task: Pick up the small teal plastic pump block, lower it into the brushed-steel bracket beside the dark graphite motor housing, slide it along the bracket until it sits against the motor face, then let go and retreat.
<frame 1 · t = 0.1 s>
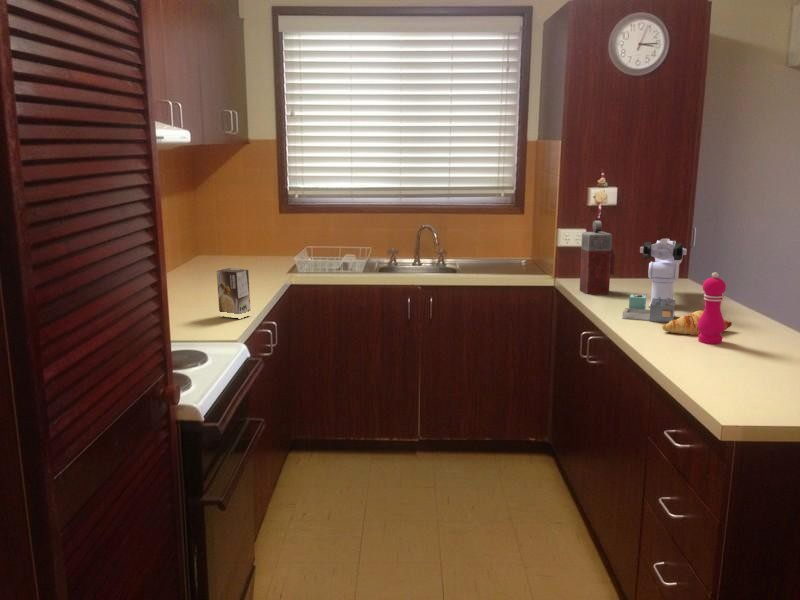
hand: (661, 252, 229), 22 cm above the worktop, tool horizontal, fingers open, 7 cm apart
pepper mill: (709, 342, 202), on the worktop
croissant: (695, 332, 214), on the worktop
motor: (662, 318, 231), on the worktop
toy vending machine: (596, 292, 278), on the worktop
pump: (637, 312, 242), on the worktop
coffee box: (235, 317, 240), on the worktop
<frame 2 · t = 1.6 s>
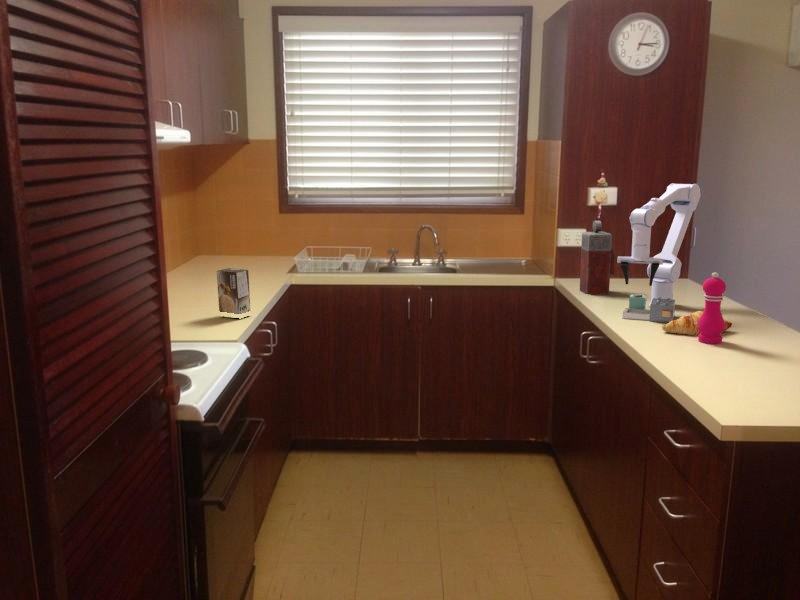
hand: (638, 284, 240), 9 cm above the worktop, tool pointing down, fingers open, 7 cm apart
nothing on the worktop moved.
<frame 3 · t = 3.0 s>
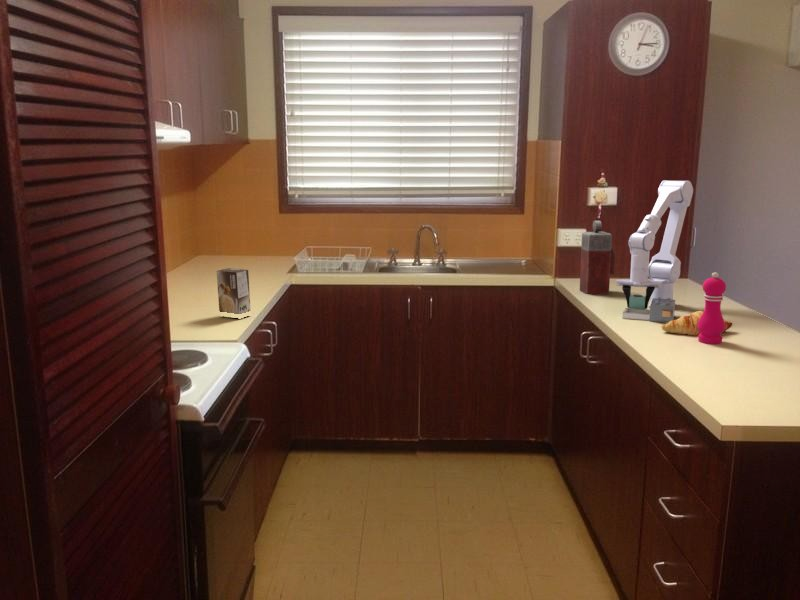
hand: (637, 307, 241), 1 cm above the worktop, tool pointing down, fingers closed on pump, 5 cm apart
pump: (637, 311, 242), on the worktop, touching gripper
everything else where it was.
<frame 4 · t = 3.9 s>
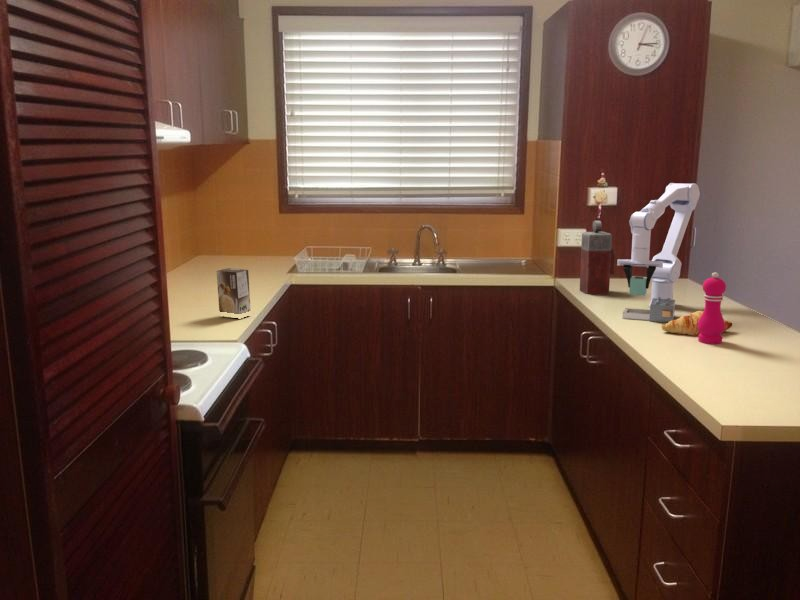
hand: (638, 287, 240), 8 cm above the worktop, tool pointing down, fingers closed on pump, 5 cm apart
pump: (638, 293, 240), point 6 cm above the worktop, touching gripper
everything else where it was.
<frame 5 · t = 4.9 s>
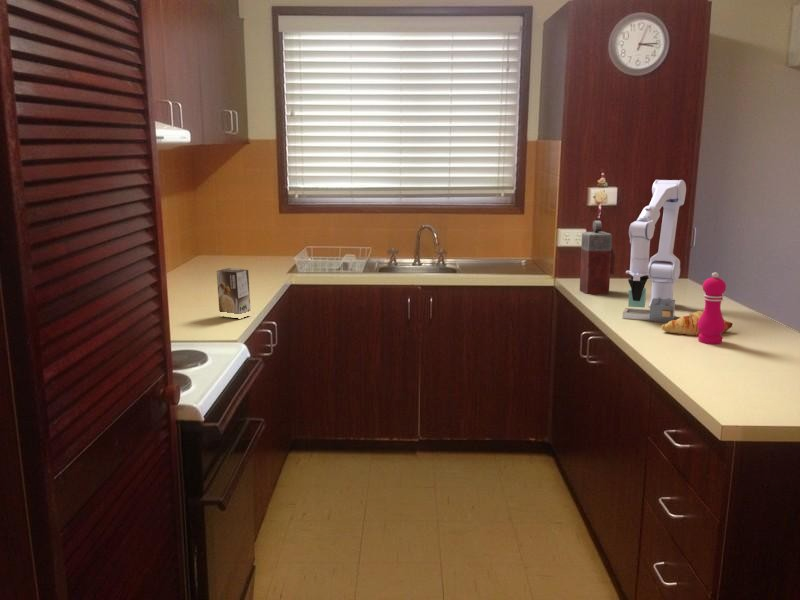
hand: (637, 299, 233), 6 cm above the worktop, tool pointing down, fingers closed on pump, 5 cm apart
pump: (636, 305, 234), point 4 cm above the worktop, touching gripper
everything else where it was.
when the fingers open (3 cm above the worktop, at t = 6.4 s): pump stays where it is, resting on motor.
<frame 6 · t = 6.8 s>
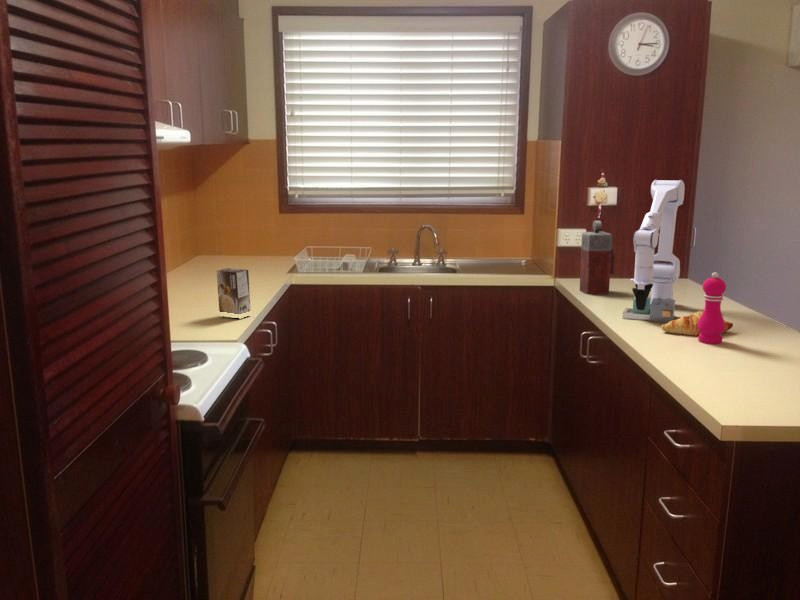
hand: (641, 307, 233), 3 cm above the worktop, tool pointing down, fingers open, 7 cm apart
pump: (641, 314, 234), point 1 cm above the worktop, touching motor
everything else where it was.
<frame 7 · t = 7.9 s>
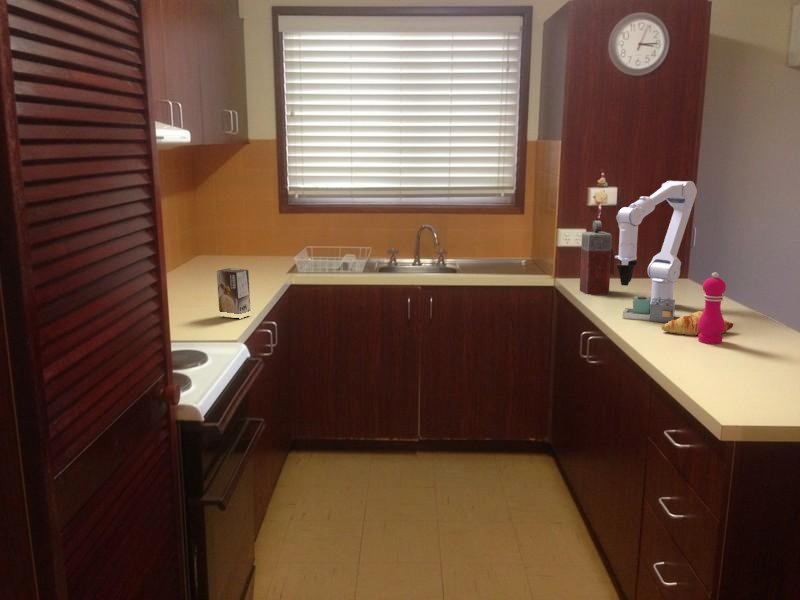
hand: (625, 283, 240), 10 cm above the worktop, tool pointing down, fingers open, 7 cm apart
nothing on the worktop moved.
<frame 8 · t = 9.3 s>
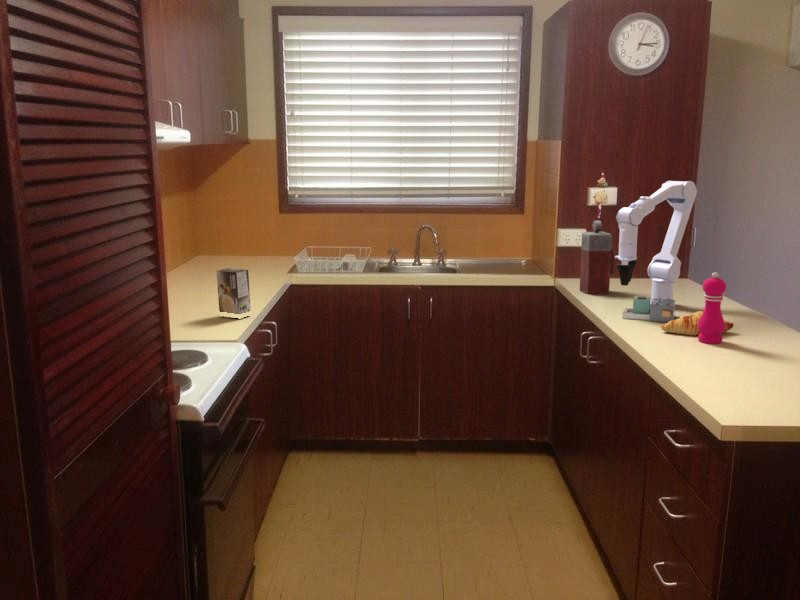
hand: (625, 283, 240), 10 cm above the worktop, tool pointing down, fingers open, 7 cm apart
nothing on the worktop moved.
at the end: pump 0.4 cm from the target spot on the motor, point 0.8 cm above the motor's base; pump tilted 0°; the gripper is holding nothing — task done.
